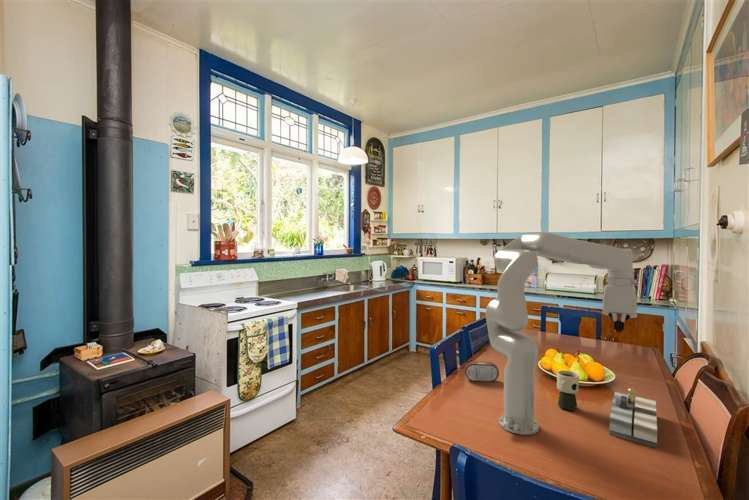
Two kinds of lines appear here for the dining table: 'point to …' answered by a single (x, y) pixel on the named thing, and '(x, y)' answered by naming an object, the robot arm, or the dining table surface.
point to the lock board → (634, 420)
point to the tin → (481, 371)
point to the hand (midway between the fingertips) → (618, 331)
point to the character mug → (567, 389)
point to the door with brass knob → (629, 398)
